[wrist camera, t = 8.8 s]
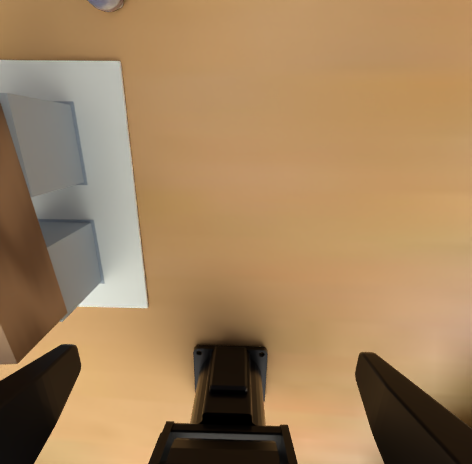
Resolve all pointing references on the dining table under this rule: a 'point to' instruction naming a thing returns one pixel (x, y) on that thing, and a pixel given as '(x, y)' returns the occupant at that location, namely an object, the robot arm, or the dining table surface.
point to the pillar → (72, 260)
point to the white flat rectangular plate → (92, 168)
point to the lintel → (22, 263)
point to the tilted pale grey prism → (43, 142)
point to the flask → (107, 4)
